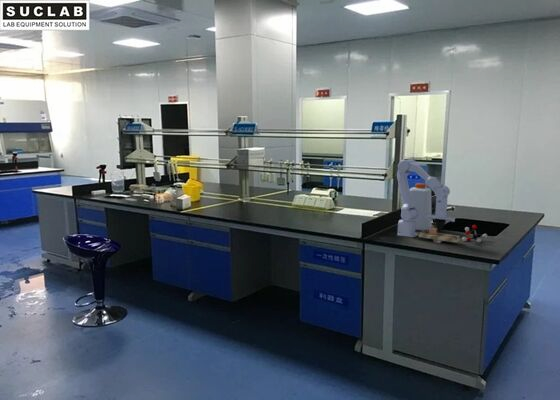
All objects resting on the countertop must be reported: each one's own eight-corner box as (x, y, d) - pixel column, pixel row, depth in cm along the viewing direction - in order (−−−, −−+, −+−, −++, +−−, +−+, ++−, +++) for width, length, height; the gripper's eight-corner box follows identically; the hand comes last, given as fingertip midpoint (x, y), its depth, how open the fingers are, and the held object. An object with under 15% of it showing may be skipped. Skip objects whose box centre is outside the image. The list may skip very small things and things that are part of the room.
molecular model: (471, 245, 242) (476, 229, 243) (484, 248, 235) (489, 231, 236) (456, 237, 234) (461, 220, 235) (469, 240, 227) (475, 222, 228)
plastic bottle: (403, 229, 264) (405, 184, 259) (408, 224, 277) (410, 181, 273) (428, 232, 257) (431, 185, 252) (432, 227, 270) (435, 183, 266)
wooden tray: (418, 239, 239) (418, 230, 238) (422, 237, 244) (423, 228, 243) (455, 245, 227) (456, 236, 226) (459, 242, 232) (459, 233, 232)
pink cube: (428, 235, 237) (429, 228, 236) (430, 233, 239) (431, 227, 239) (436, 236, 234) (436, 229, 234) (438, 235, 237) (438, 228, 236)
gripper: (425, 208, 233) (423, 232, 236) (453, 211, 225) (451, 236, 227) (429, 206, 239) (428, 229, 241) (456, 209, 231) (454, 233, 233)
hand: (439, 232), depth 235 cm, fingers closed
